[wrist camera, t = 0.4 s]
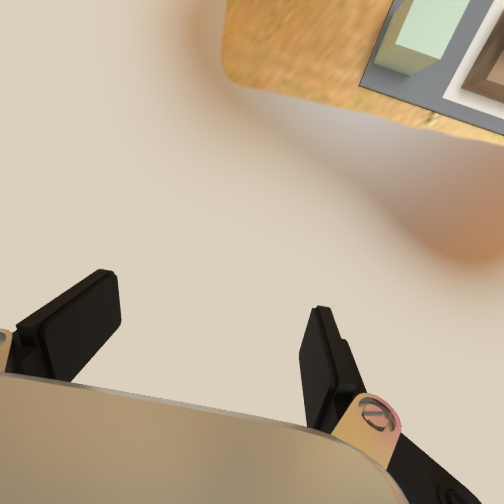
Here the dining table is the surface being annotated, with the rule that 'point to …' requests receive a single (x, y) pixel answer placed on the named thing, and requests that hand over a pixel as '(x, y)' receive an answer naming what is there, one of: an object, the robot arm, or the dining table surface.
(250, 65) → the dining table surface
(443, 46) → the sage block
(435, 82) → the slate mat
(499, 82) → the walnut base block
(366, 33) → the dining table surface
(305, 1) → the dining table surface
